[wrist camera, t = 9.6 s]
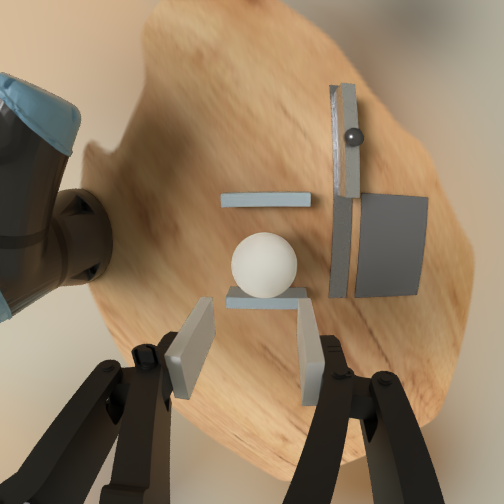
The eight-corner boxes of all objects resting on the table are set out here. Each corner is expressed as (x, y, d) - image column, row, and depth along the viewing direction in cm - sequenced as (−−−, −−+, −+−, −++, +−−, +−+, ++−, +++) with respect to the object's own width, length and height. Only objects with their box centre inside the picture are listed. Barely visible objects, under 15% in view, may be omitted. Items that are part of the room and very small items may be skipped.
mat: (354, 296, 36) (355, 297, 36) (361, 193, 32) (362, 193, 32) (416, 294, 35) (416, 294, 35) (427, 197, 32) (428, 197, 31)
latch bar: (335, 194, 33) (346, 198, 27) (332, 94, 29) (341, 79, 24) (350, 195, 32) (364, 198, 27) (347, 95, 29) (359, 81, 24)
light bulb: (302, 234, 35) (312, 259, 24) (279, 279, 36) (279, 320, 26) (254, 212, 34) (243, 227, 24) (233, 258, 36) (215, 291, 26)
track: (328, 297, 36) (328, 297, 36) (329, 85, 29) (329, 85, 29) (345, 297, 36) (345, 297, 36) (347, 87, 29) (347, 86, 29)
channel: (231, 296, 38) (226, 308, 34) (226, 192, 34) (220, 194, 31) (304, 297, 37) (307, 309, 33) (307, 191, 33) (310, 193, 30)
